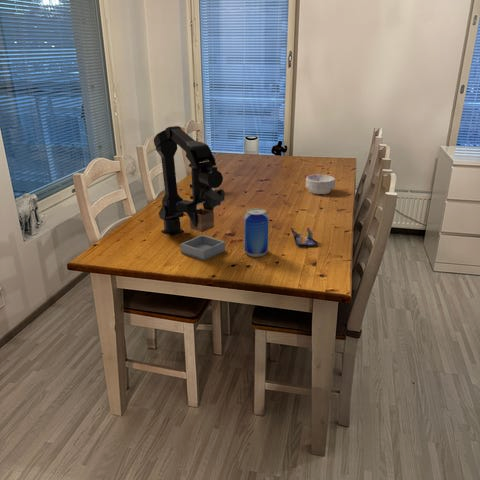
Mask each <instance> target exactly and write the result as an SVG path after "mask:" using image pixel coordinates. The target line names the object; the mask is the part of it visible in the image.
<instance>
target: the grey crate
mask: <svg viewBox="0 0 480 480" xmlns="http://www.w3.org/2000/svg"><path fill="white" fill-rule="evenodd" d="M225 251H226V241H224V240H220V239H217V238H214V237H211V236H208V235H205V234H201V235H198V236H196V237H194V238H192V239H189V240H187V241H184V242H181V243H180V253H181V254H184V255H186V256H189V257H192V258H193V259H194V258H195V259H197V260H201V261H203V262H205V261H206V260H209V259H211V258H214V257H215V256H217V255H219V254H221V253H223V252H225Z"/></svg>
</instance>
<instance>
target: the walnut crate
mask: <svg viewBox="0 0 480 480" xmlns="http://www.w3.org/2000/svg"><path fill="white" fill-rule="evenodd" d="M197 209H198V208H197ZM198 210H200V211H199V212H198V214H197V215H198V224H197V227H195V226H194V225H193V223H192V221H191V219H190V218H189V225H190V229H192V230H194V231H198V232H201V233H204V232H206V231H209V230H211V229H214V228H215V212H214V210H213V211H210V210H206V209H204V208H202V207H201V208H199V209H198Z"/></svg>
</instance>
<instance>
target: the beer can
mask: <svg viewBox="0 0 480 480" xmlns="http://www.w3.org/2000/svg"><path fill="white" fill-rule="evenodd" d="M246 212H247V213H246V214H245V215H244V252H246V254H247V255H248V256H250V257H253V258H255V257H256V258H260V257H264V256H265V255H266V254H267V252H268V251H269V216H268V214H267V213H266V212H267V211H266V209H264V208H260V207H259V208H255V207H254V208H250V209H247V210H246Z"/></svg>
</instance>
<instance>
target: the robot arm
mask: <svg viewBox="0 0 480 480" xmlns="http://www.w3.org/2000/svg"><path fill="white" fill-rule="evenodd" d="M153 145H154V146H155V151H156V152H157V154H158V155H159V156H160V158H161V167H162V177H163V187H164V196H163V198H162V200H161V207H160V209H159V212H158V217H159V219H161V220H163V229H162V230H161V232H162V233H164V234H166V235H170V236H174V235H176V234H179V233H182V232H184V229H182V228H181V221H180V219H181V218H184V214H185V213H186V215H187V216H188V217H189V220H190V219H191V221H192V223H193V225H194V226H195V227H197V224H198V215H197V214H198V212H199V211H200V210H198V206H200V205H202V207H203V208H202V209H206V210H210V211H214V210H215V209H214V208H216V207H217V206H221V205H222V202H224V201H225V199H226V198H225V196H226V195H225V193H226V192H225V190H224V189H222V188H220V189H218V190H217V188H219V187H221V186H222V183H223V181H224V177H223V174H222V173H221V171H219V170H218V167H217V163H216V159H215V157H214V155H213V153H212V150H211V147H210V146H209V145H208V144H207V143H205V142H202V141H197V140H196V139H194V138H192V137H191V136H190V135H189V134H188V133H186V132H185V131H184V130H183V129H182V127H181V126H178V125H174V126H172V125H171V126H168V127H166V128H165V129H163V130H162V131H160V132H158V133H157V134H156V135H155V136H154V137H153ZM178 146H179V148H180V149H183V151H184V152H185V157H186V159H187V160H188V162H189V164H188V167H189V168H190V169H191V183H190V184H189V188H191V189H192V190H191V191H192V194H191V195H190V197H189V198H190V200H188V199H183V197H181V196H180V194H179V193H178V185H177V183H178V182H177V175H176V165H175V164H176V163H175V155H176V154H177V151H178ZM208 160H209V161H208ZM205 161H208V162H205ZM201 162H202V163H201ZM212 188H216V190H215V191H213V190H212Z"/></svg>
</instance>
